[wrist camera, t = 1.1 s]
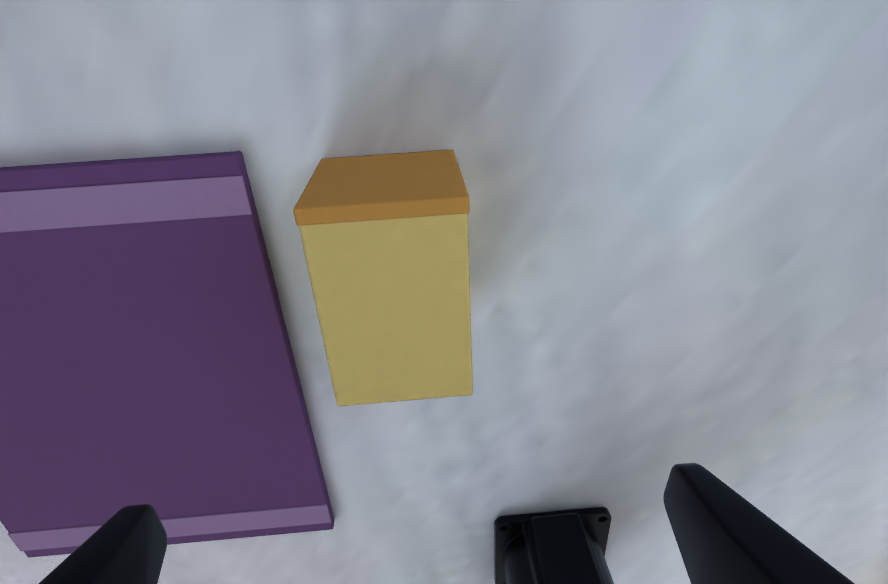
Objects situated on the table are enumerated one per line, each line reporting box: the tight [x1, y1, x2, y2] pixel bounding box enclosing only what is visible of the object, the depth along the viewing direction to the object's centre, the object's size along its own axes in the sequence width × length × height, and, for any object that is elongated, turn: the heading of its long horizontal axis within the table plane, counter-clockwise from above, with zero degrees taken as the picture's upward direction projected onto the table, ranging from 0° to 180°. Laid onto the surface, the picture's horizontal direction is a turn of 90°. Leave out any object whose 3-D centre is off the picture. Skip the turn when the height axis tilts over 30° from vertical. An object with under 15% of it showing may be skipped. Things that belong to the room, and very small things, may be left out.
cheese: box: [293, 150, 473, 406], centre depth 17 cm, size 7×5×5 cm
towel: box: [0, 151, 334, 557], centre depth 22 cm, size 20×16×1 cm
